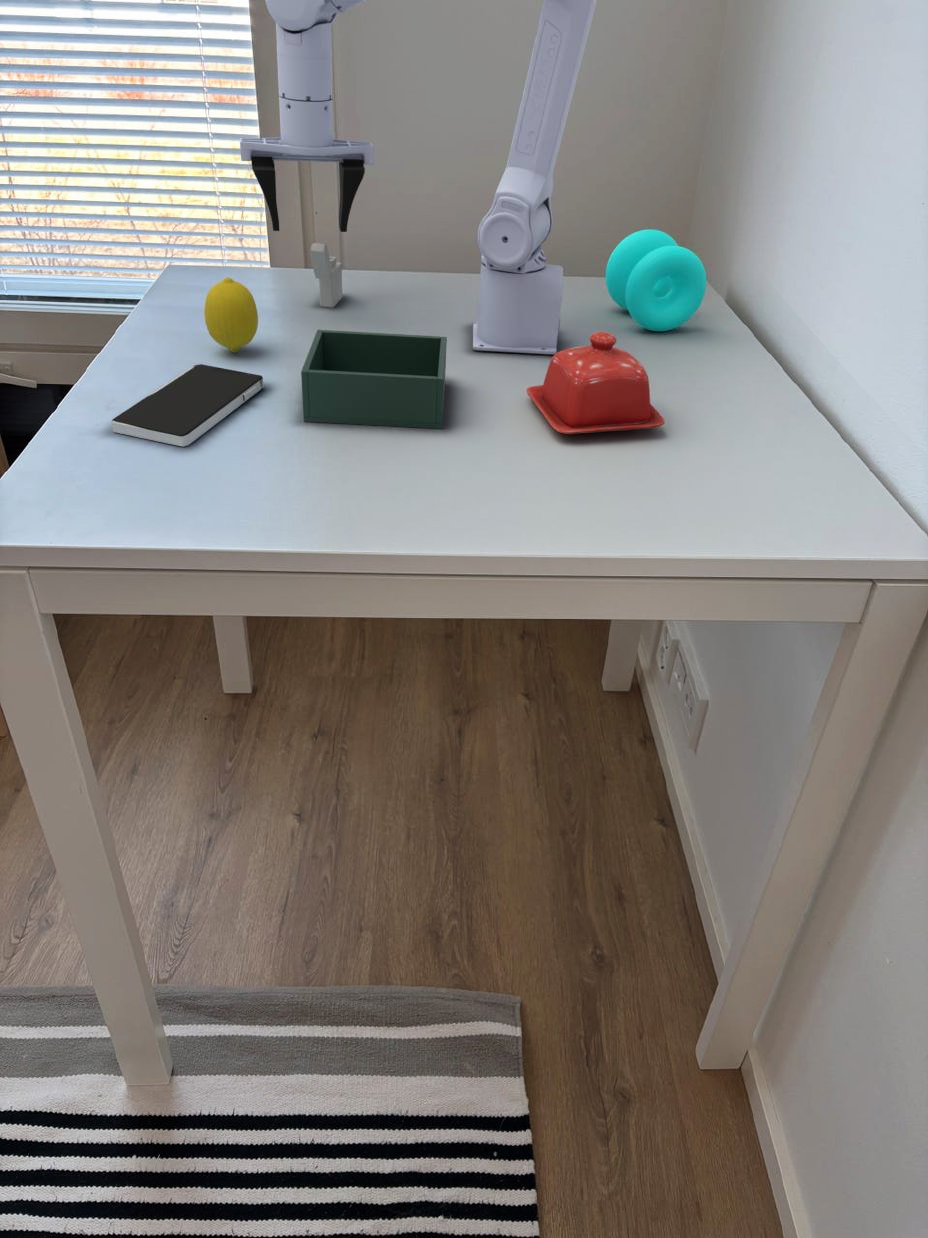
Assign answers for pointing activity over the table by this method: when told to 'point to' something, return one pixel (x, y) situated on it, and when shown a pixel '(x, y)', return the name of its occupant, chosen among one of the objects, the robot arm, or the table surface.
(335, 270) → the grey stepped block
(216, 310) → the lemon
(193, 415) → the smartphone
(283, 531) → the table surface
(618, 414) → the butter dish
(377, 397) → the bin
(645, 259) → the turquoise yoyo
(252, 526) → the table surface
